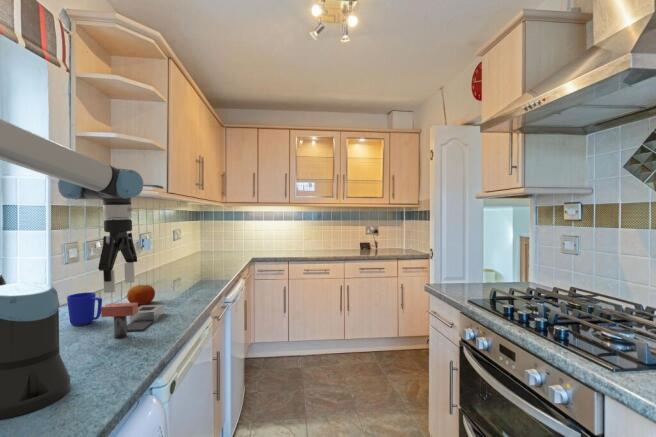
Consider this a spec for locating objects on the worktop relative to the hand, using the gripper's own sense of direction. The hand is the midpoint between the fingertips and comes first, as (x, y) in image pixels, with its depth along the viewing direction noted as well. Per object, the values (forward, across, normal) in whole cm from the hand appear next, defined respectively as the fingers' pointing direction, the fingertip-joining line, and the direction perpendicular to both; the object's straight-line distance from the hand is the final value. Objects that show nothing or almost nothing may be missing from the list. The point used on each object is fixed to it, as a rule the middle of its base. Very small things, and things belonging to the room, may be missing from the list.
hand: (120, 287), depth 108 cm
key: (+16, 0, 0) cm, 16 cm away
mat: (+16, +8, -1) cm, 18 cm away
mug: (+16, +16, +18) cm, 29 cm away
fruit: (+16, +40, +9) cm, 44 cm away
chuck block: (+16, +18, -1) cm, 24 cm away
